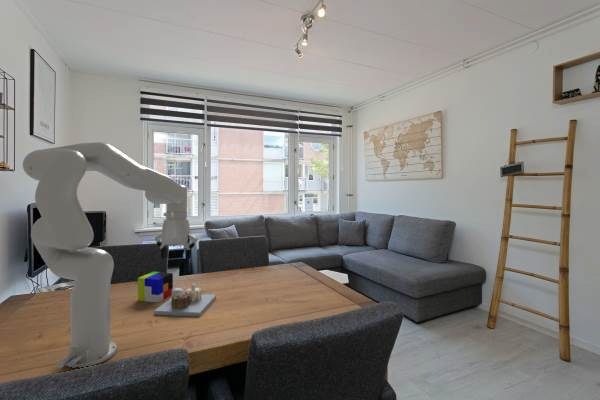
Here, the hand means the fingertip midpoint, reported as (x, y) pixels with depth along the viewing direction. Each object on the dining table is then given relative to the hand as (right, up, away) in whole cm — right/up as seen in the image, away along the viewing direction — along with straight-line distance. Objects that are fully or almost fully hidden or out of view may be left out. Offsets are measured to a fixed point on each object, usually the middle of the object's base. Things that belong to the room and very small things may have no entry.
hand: (176, 258), depth 118 cm
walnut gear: (+1, -20, +2) cm, 20 cm away
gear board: (+2, -21, +6) cm, 22 cm away
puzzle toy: (-15, -21, +15) cm, 29 cm away
